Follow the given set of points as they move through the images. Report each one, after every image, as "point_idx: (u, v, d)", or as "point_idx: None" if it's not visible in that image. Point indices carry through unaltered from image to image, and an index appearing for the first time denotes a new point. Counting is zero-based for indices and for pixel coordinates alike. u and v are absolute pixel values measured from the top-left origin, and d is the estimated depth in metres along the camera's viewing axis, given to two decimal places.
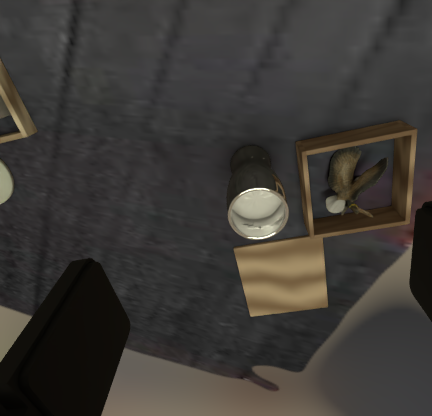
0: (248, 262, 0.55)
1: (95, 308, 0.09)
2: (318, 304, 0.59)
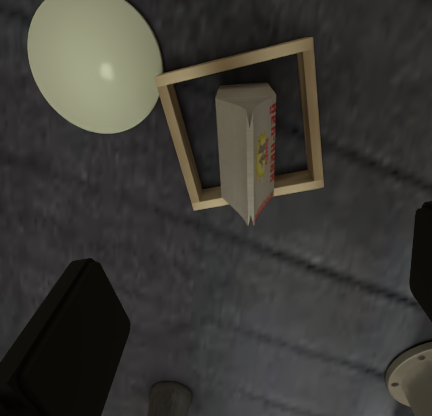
0: None
1: (95, 308, 0.09)
2: None
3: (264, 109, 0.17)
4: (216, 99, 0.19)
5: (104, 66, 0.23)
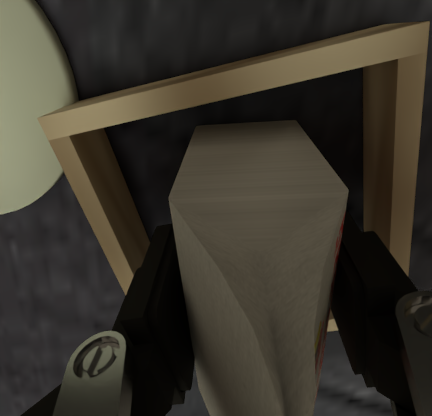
0: None
1: None
2: None
3: (327, 270, 0.05)
4: (171, 202, 0.06)
5: None
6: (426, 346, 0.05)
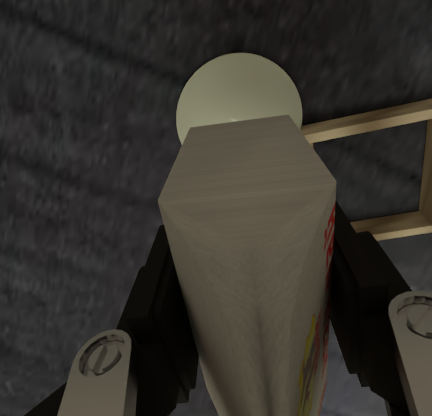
0: None
1: None
2: None
3: (313, 262, 0.05)
4: (160, 204, 0.07)
5: None
6: (418, 346, 0.05)
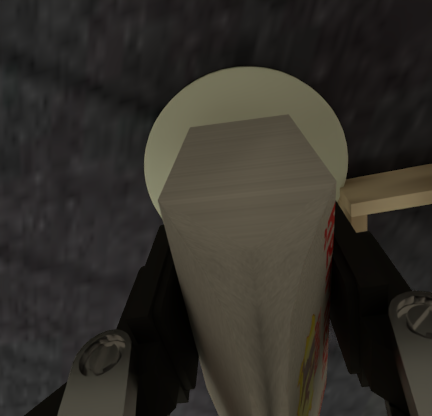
0: None
1: None
2: None
3: (313, 262, 0.05)
4: (160, 204, 0.07)
5: None
6: (418, 346, 0.05)
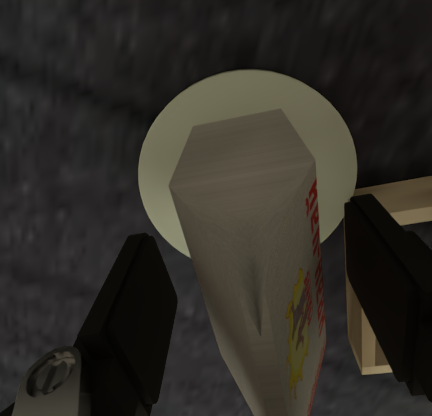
0: None
1: (153, 278, 0.09)
2: None
3: (294, 222, 0.06)
4: (171, 189, 0.08)
5: None
6: None
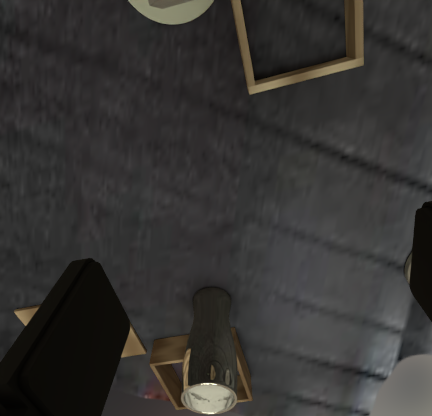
0: None
1: (95, 308, 0.09)
2: None
3: None
4: None
5: None
6: None
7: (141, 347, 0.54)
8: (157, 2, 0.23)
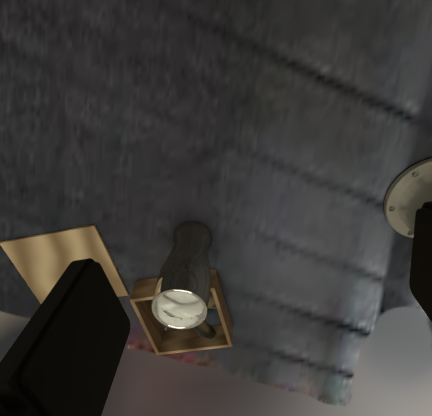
0: (79, 239, 0.50)
1: (95, 308, 0.09)
2: (43, 300, 0.57)
3: None
4: None
5: None
6: None
7: (123, 288, 0.55)
8: None
